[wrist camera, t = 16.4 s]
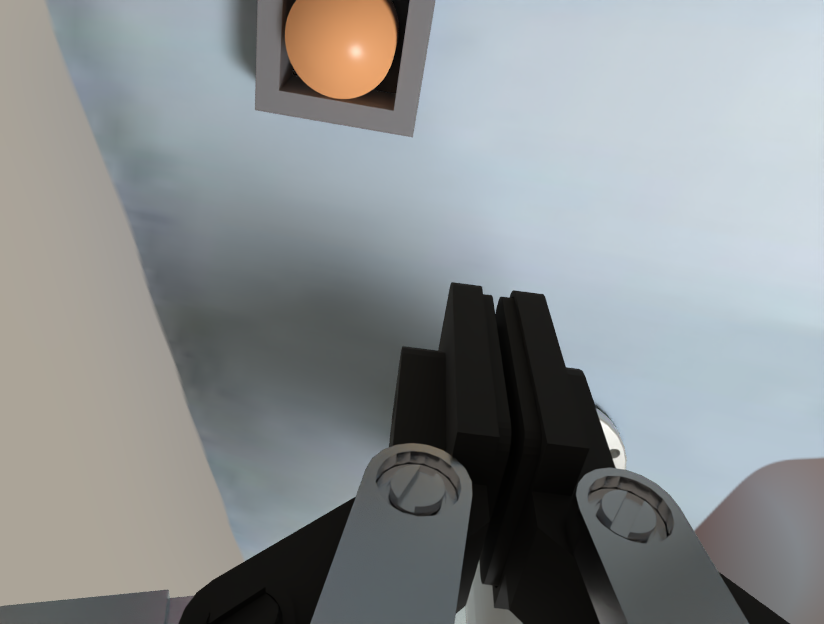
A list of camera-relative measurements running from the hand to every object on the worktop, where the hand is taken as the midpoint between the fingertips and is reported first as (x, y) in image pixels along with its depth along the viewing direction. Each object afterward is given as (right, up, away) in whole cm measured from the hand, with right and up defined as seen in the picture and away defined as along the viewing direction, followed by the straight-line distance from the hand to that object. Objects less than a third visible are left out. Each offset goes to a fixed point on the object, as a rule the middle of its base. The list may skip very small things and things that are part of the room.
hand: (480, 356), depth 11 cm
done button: (-4, +14, +16) cm, 21 cm away
